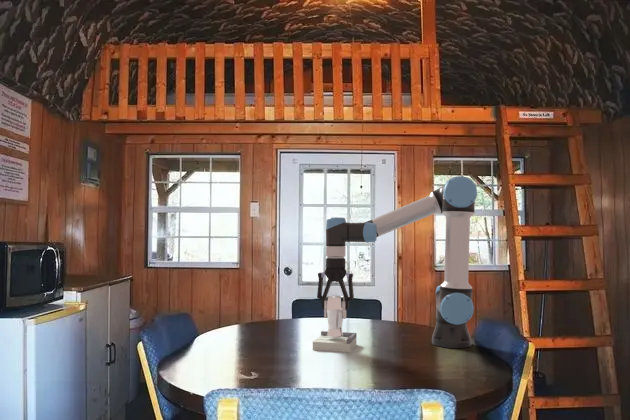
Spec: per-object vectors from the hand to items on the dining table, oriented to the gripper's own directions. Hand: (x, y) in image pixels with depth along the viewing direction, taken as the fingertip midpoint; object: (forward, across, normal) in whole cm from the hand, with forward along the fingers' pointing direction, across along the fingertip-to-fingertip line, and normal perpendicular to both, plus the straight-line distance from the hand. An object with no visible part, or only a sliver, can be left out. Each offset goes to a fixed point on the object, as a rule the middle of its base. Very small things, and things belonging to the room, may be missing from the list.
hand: (335, 317), depth 198 cm
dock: (+11, 0, 0) cm, 11 cm away
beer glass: (+7, 0, 0) cm, 7 cm away
